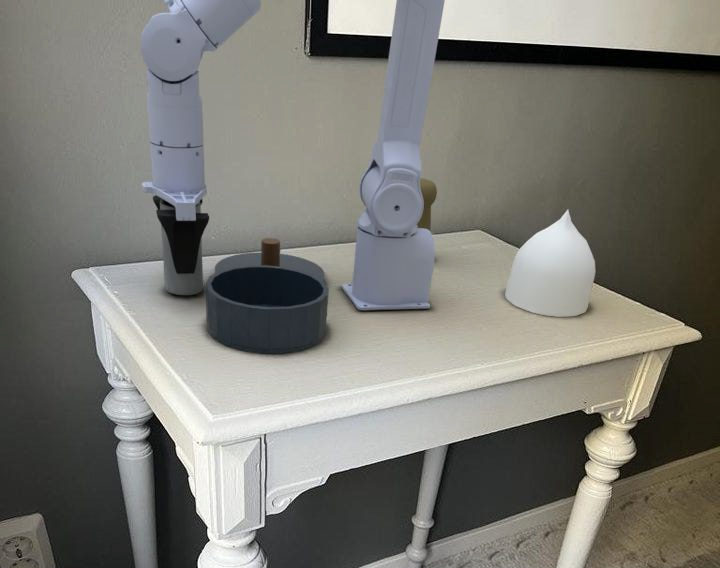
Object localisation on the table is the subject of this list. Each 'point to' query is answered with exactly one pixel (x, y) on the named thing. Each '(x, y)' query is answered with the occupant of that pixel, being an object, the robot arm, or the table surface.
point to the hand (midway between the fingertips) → (183, 265)
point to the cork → (427, 202)
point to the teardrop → (553, 272)
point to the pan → (266, 309)
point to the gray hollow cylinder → (174, 281)
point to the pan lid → (271, 259)
